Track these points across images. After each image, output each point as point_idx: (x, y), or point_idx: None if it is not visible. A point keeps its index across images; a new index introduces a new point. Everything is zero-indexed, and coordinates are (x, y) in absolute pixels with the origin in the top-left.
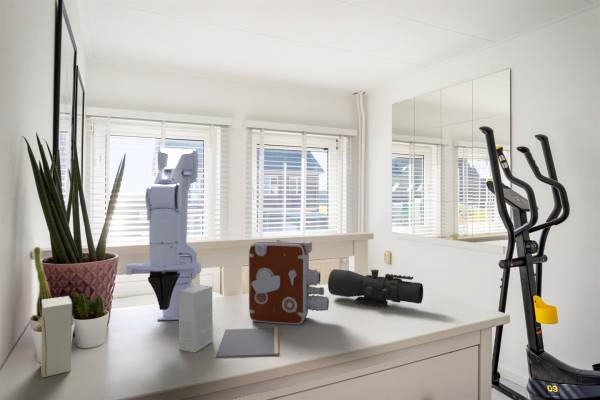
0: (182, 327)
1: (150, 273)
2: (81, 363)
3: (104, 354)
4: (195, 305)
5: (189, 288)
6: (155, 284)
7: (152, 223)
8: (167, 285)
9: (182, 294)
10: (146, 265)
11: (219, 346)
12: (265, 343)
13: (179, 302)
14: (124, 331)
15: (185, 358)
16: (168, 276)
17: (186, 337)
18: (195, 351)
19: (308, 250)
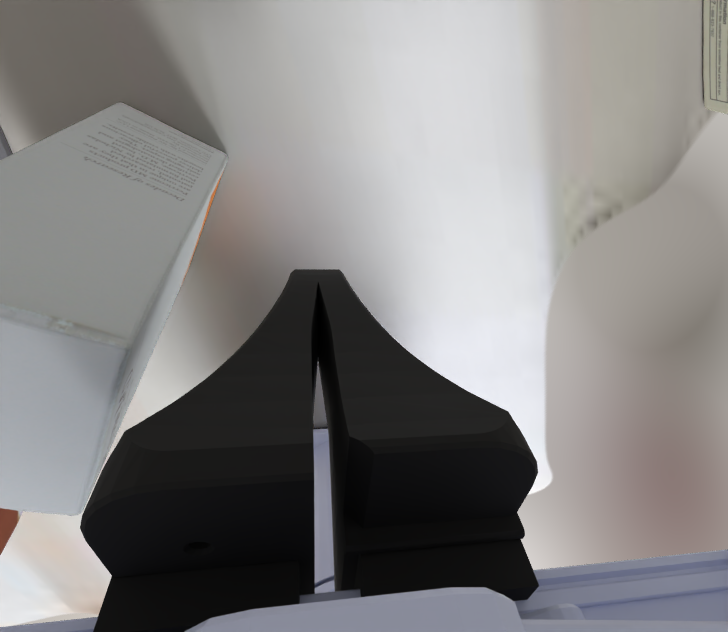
0: (176, 180)
1: (522, 566)
2: (652, 46)
3: (560, 142)
4: None
5: (52, 425)
6: (402, 389)
7: None
8: (242, 387)
9: (69, 304)
10: None
11: (5, 153)
12: None
13: (152, 273)
14: (505, 350)
15: (144, 24)
16: (181, 501)
17: (159, 146)
18: (118, 103)
19: None
